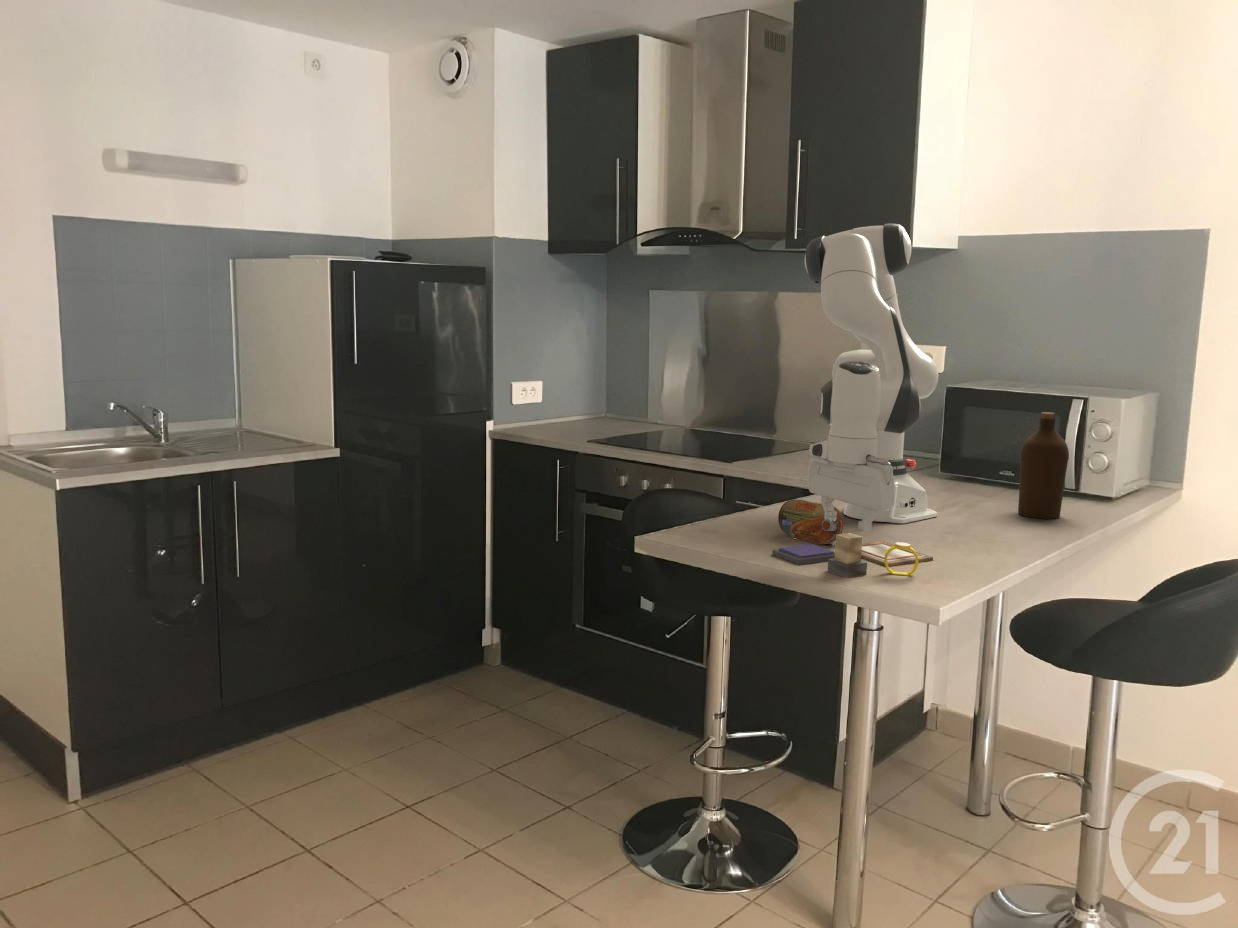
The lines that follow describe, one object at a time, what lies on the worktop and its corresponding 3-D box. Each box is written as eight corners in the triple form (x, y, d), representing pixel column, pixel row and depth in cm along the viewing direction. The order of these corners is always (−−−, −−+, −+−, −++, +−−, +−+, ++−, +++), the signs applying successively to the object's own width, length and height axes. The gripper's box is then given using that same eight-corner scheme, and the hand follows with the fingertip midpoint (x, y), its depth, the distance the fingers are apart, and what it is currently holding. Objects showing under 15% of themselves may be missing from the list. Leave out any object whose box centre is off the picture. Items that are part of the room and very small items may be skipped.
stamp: (848, 568, 186) (850, 531, 185) (866, 574, 181) (868, 537, 180) (827, 570, 183) (829, 533, 182) (845, 577, 179) (847, 540, 178)
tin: (776, 534, 211) (778, 496, 210) (785, 532, 213) (787, 494, 212) (836, 548, 201) (838, 508, 199) (844, 545, 203) (847, 506, 201)
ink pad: (811, 549, 199) (812, 542, 199) (839, 559, 191) (840, 552, 191) (772, 554, 194) (772, 547, 194) (799, 564, 187) (799, 557, 186)
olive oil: (1031, 520, 232) (1041, 415, 228) (1006, 510, 242) (1015, 410, 238) (1072, 519, 234) (1082, 415, 230) (1045, 510, 244) (1054, 410, 240)
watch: (915, 575, 183) (920, 544, 182) (916, 579, 180) (921, 548, 179) (882, 570, 184) (886, 539, 183) (883, 574, 181) (887, 543, 180)
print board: (882, 544, 205) (883, 539, 205) (932, 560, 193) (933, 555, 193) (838, 549, 199) (838, 545, 199) (887, 566, 187) (887, 562, 187)
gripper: (906, 459, 171) (900, 536, 173) (829, 443, 189) (825, 514, 191) (878, 460, 168) (872, 539, 170) (803, 444, 186) (799, 516, 188)
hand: (846, 525), depth 181 cm, fingers open, 8 cm apart
